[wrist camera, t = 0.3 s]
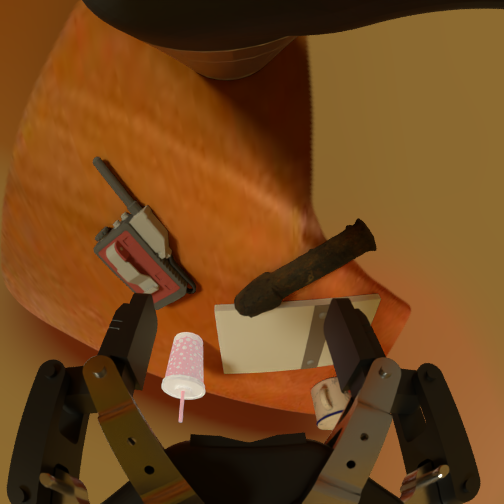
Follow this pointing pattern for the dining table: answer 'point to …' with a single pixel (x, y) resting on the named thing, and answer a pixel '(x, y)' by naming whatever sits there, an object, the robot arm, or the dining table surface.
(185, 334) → the beverage cup
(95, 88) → the dining table surface
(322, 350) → the floor panel
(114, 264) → the walkie-talkie
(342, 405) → the teacup with lid
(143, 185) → the dining table surface
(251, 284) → the hand tool
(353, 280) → the dining table surface
